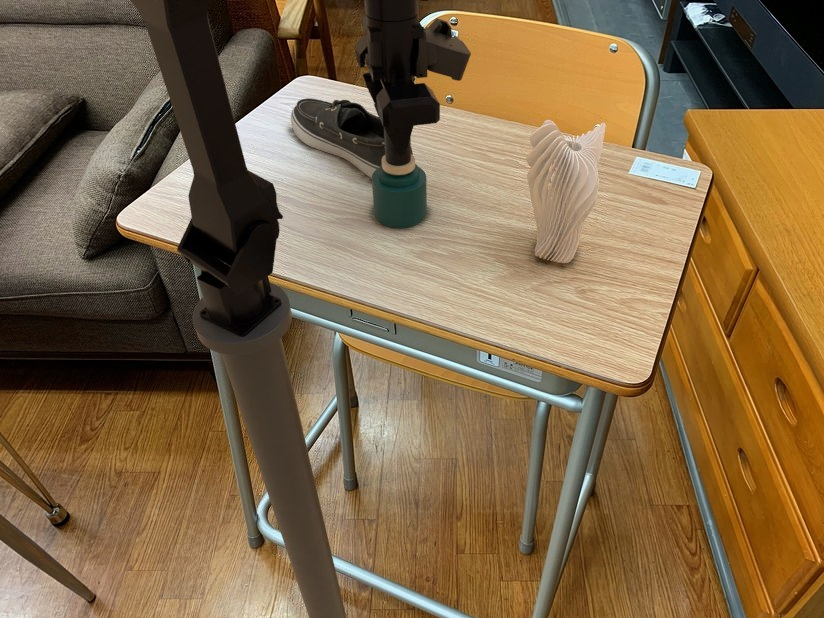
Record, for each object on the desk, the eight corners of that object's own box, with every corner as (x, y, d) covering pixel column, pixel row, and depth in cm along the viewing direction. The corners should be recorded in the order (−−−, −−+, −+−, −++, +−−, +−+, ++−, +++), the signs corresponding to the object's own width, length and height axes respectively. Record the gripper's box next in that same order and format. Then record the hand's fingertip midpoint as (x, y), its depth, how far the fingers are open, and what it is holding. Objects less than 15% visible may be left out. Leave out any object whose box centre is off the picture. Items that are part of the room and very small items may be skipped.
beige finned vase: (592, 239, 85) (620, 106, 72) (579, 278, 80) (607, 142, 67) (529, 226, 87) (546, 94, 74) (513, 263, 81) (528, 127, 69)
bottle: (408, 234, 85) (406, 180, 80) (364, 217, 88) (359, 163, 82) (436, 207, 89) (436, 154, 84) (393, 192, 92) (390, 140, 86)
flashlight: (402, 170, 81) (400, 108, 75) (377, 161, 82) (373, 99, 77) (419, 156, 83) (418, 95, 78) (394, 148, 85) (391, 87, 79)
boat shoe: (323, 111, 108) (318, 67, 103) (434, 171, 96) (434, 124, 91) (279, 130, 104) (271, 85, 99) (389, 195, 91) (387, 147, 86)
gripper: (490, 39, 66) (482, 177, 77) (443, -21, 78) (442, 104, 89) (379, 49, 63) (387, 189, 75) (349, -15, 76) (360, 113, 87)
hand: (397, 145), depth 81 cm, fingers open, 4 cm apart
